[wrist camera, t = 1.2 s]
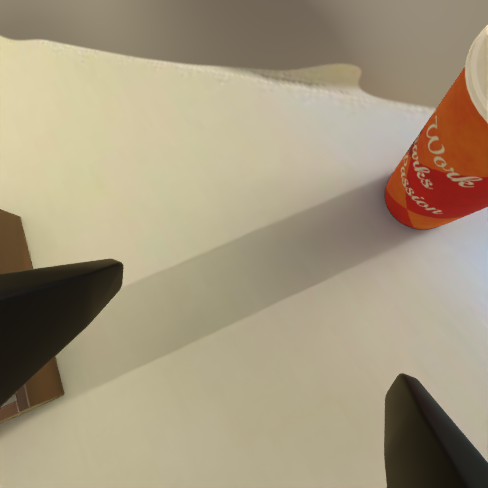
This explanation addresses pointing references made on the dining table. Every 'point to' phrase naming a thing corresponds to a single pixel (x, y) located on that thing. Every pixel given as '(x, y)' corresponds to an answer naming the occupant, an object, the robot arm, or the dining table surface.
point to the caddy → (48, 379)
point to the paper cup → (448, 153)
